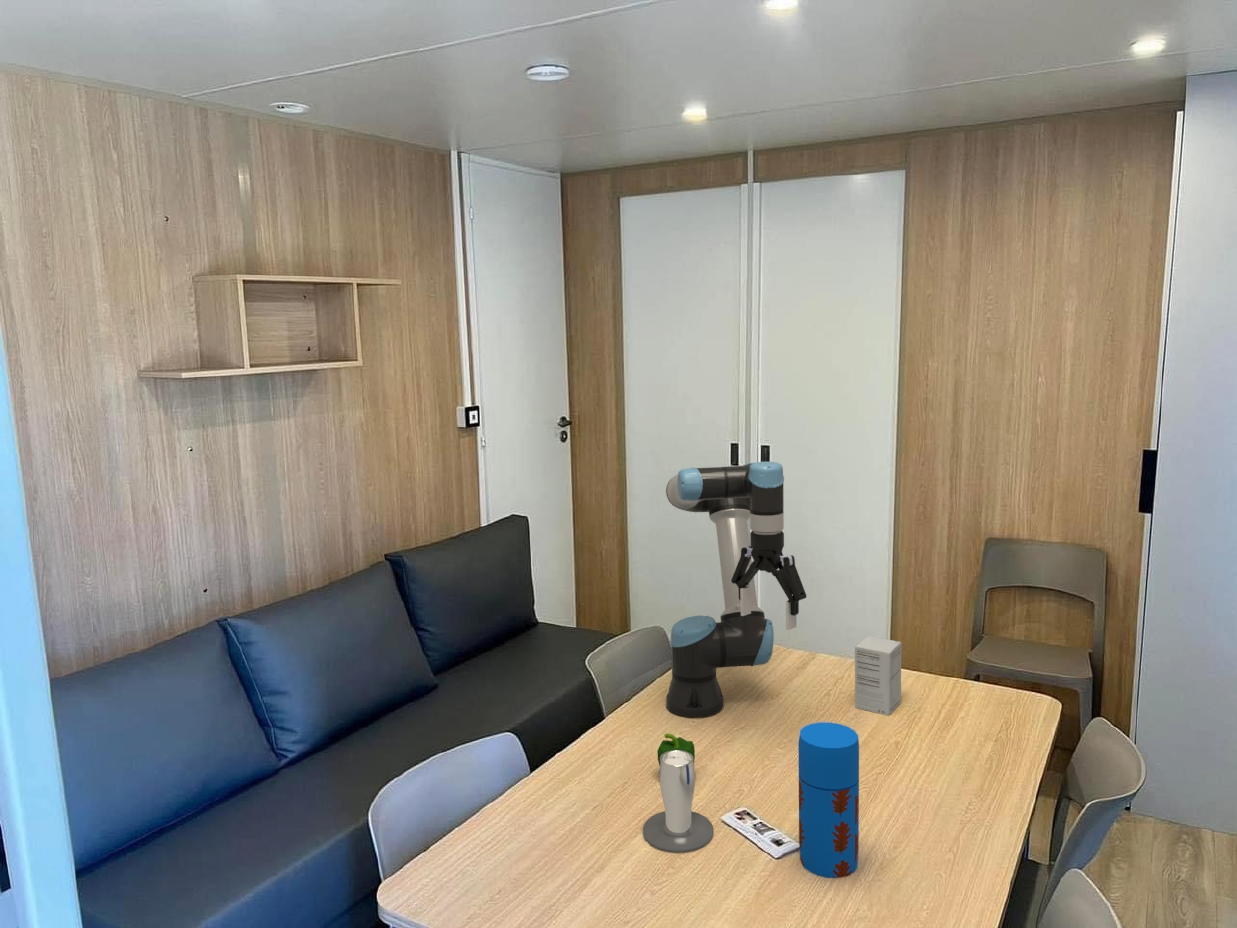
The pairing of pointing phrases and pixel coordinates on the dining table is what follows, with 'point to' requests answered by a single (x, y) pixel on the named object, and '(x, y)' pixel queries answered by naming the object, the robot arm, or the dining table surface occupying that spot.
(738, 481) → the robot arm
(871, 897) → the dining table surface
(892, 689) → the supplement box
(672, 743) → the bell pepper
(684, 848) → the coaster
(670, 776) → the metal tumbler
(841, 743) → the thermos
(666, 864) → the dining table surface
